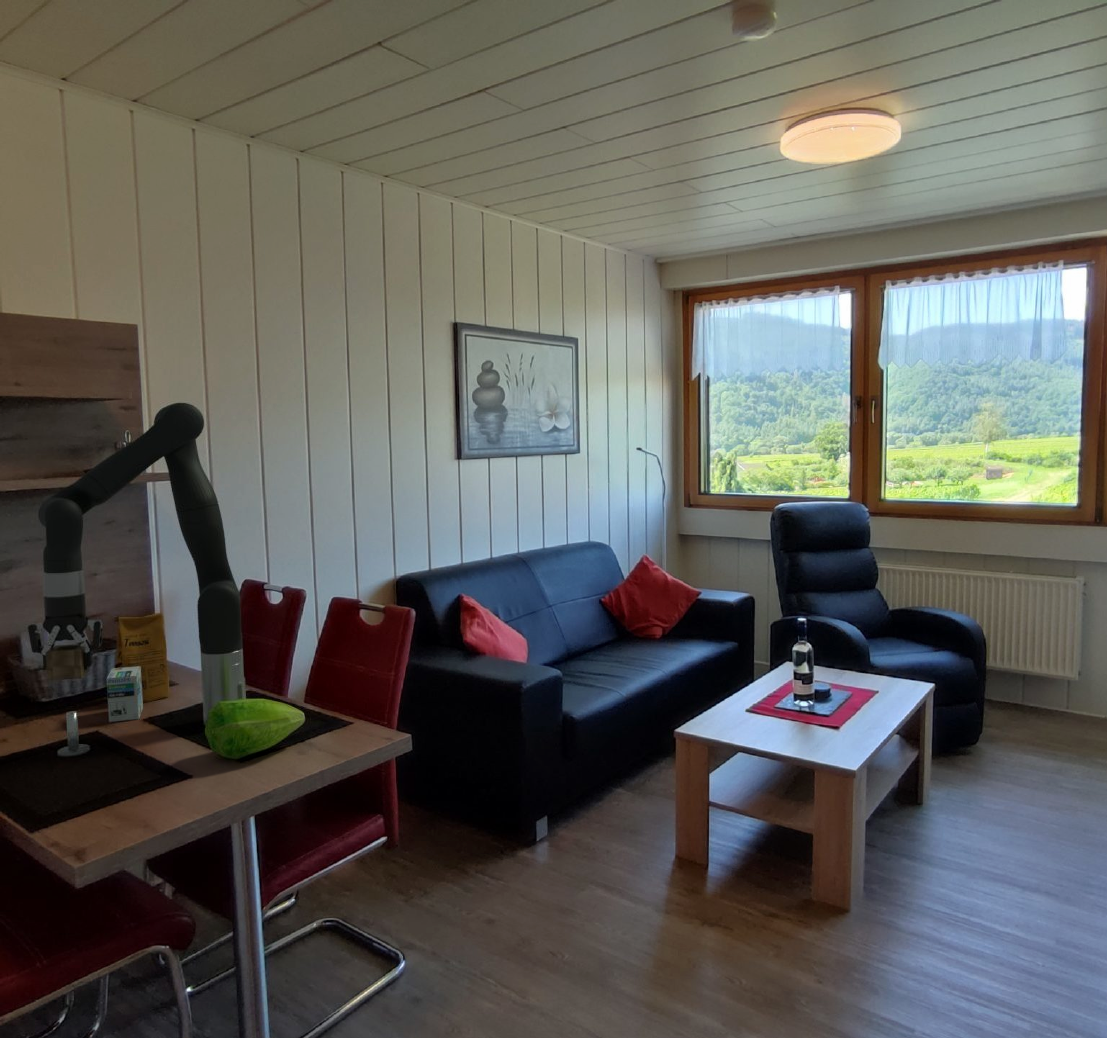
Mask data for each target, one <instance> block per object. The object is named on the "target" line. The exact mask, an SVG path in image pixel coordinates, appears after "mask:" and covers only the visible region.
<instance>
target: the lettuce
mask: <svg viewBox="0 0 1107 1038" xmlns="http://www.w3.org/2000/svg"><path fill="white" fill-rule="evenodd" d="M305 721H306V717H305V713H304V712H303V711H302V710H300V709H298V708H296V707H293V706H292V705H290V704H287V703H284V702H280V701H277V700H276V701H275V700H272V699H266V698H246V699H237V700H232V701H220V702H218V703H217V704H216V705H215V706H214V707H213V708H212V709H211V710H210V711H209V712H208V717H207V722H206V725H205V727H204V733H205V737H206V738H207V741H208V744H209V746H210V749H211V751H214V752H215V753H217V754H218V755H220V756H222V757H223V758H227V759H232V760H239V759H241V758H244V757H247V756H249V755H252V754H255V753H259V752H261V751H264V750H267V749H269V748H272V747H273V746H275V745H277V744H278V743H280V742H282V740H284V739H286V738H287V737H288V736H289V735H291V733H293V732H294V731H296V730H298V728H300V727H301V726H302V725H303V724H304V723H305Z"/></svg>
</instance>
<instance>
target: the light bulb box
mask: <svg viewBox="0 0 1107 1038" xmlns="http://www.w3.org/2000/svg"><path fill="white" fill-rule="evenodd" d="M106 690H107V691H106V692H107V708H108V709H107V710H108V723H113V722H121V721H132V720H139V719H140V717H141V714H142V711H143V709H144V705H143V703H144V702H143V700H142V681H141V667H140V666H137V667H125V668H115V667H114V668H113V667H112V668H111V670H110V672H109V673H108V675H107V677H106Z"/></svg>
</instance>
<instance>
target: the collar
mask: <svg viewBox="0 0 1107 1038" xmlns="http://www.w3.org/2000/svg"><path fill="white" fill-rule="evenodd" d="M83 653H84V651H83V648H81V646H80V645H79V644H78V643H76V644H63V645H62V644H61V645H59V644H58V645H54V647H53V648H51V649H50V650H48V651H47V652H46V669H47V670H46V681H47V682H48V681H49V682H50V681H51V682H52V681H61V680H62V681H64V680H75V679H76V680H79V679H82V678H84V677H85V676H86V675H87V674H88V673H89V672H90V671H91V670H90V669H91V667H90V668H89V669H88V670H84V663H83Z"/></svg>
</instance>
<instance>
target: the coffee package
mask: <svg viewBox="0 0 1107 1038" xmlns="http://www.w3.org/2000/svg"><path fill="white" fill-rule="evenodd" d="M164 623H165V618H164V614H163V612H157V613H154V614H149V615H144V616H141V617H140V616H139V617H137V616H136V617H135V616H134V617H131V616H129V617H128V616H125V617H121V616H118V630H117V639H116V648H115V663H114V668H125V667H137V666H140V667H141V681H142V700H143V703H145V702H146V703H147V702H149V703H150V702H154V701H157V700H162V699H164V698H168V697H169V695H170V678H169V671H168V670H169V669H168V658H167V657H168V656H167V651H168V650H167V641H166V635H165V628H164V627H165V624H164Z"/></svg>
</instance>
